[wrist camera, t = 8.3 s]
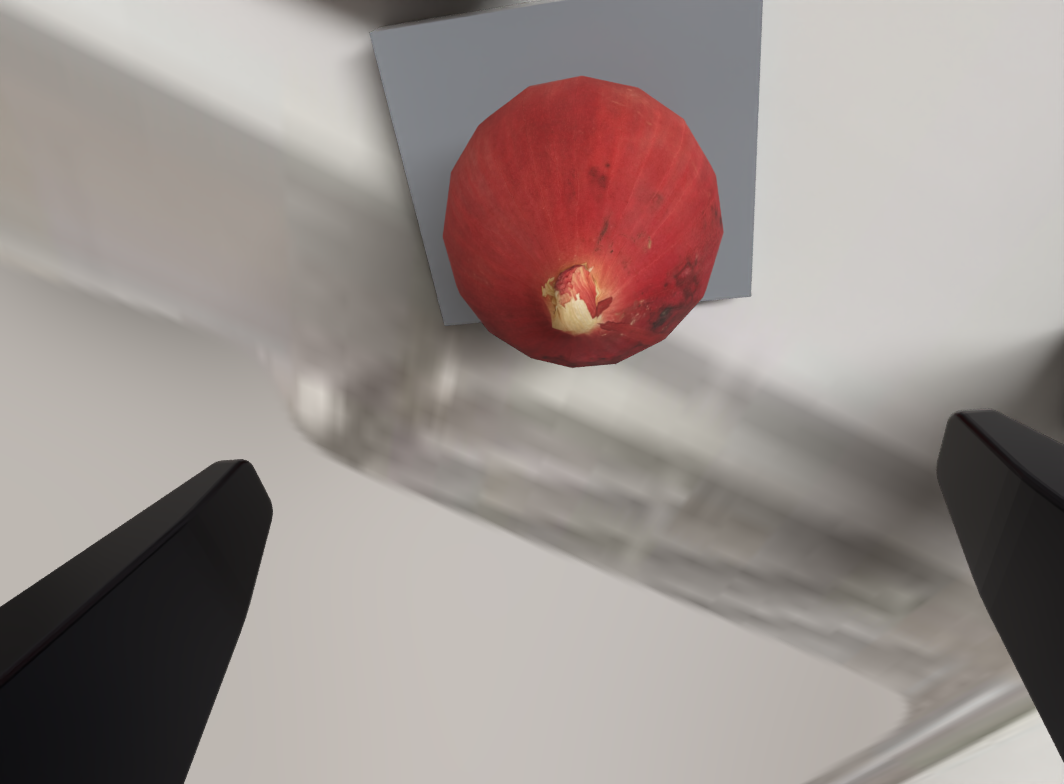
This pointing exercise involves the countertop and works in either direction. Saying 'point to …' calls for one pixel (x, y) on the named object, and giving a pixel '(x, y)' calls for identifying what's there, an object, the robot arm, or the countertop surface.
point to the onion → (582, 222)
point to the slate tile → (565, 52)
